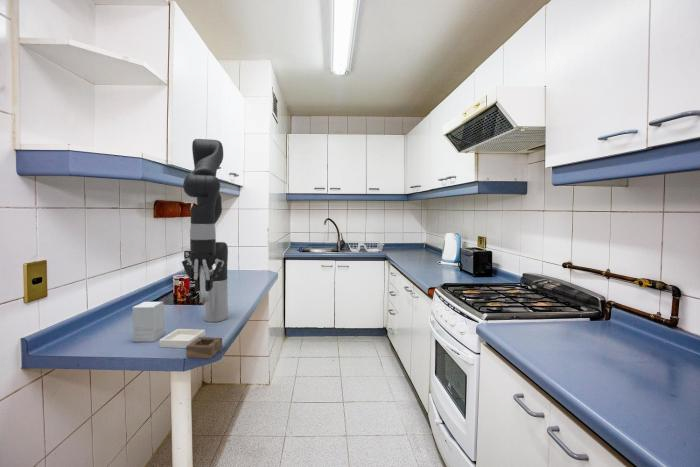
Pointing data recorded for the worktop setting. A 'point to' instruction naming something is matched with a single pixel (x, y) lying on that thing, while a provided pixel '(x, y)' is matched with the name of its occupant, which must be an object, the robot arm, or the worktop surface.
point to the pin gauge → (202, 285)
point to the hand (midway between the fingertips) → (203, 290)
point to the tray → (181, 338)
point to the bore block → (204, 347)
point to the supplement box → (148, 321)
